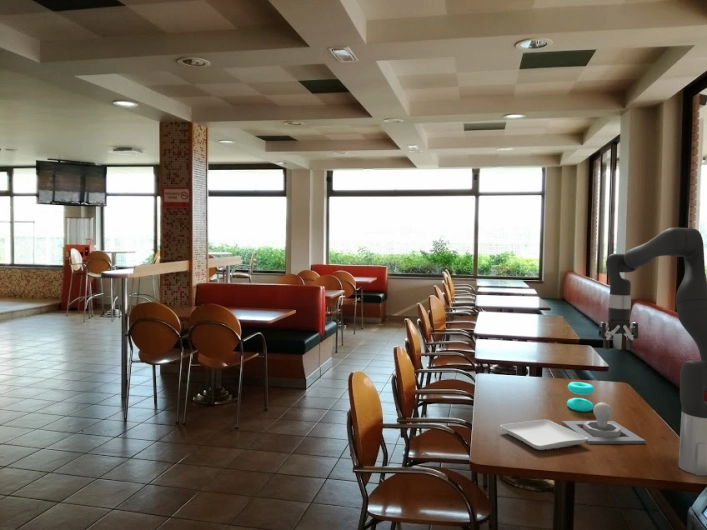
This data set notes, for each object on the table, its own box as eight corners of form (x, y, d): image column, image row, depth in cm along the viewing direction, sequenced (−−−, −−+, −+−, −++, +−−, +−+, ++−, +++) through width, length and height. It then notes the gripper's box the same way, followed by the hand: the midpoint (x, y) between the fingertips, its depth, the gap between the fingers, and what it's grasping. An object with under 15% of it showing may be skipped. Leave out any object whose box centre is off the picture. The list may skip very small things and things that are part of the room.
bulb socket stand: (645, 443, 190) (645, 436, 190) (588, 443, 189) (588, 436, 188) (613, 423, 210) (613, 416, 210) (561, 423, 208) (562, 417, 208)
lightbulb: (612, 436, 196) (614, 406, 195) (594, 435, 197) (595, 404, 196) (608, 430, 202) (610, 400, 201) (590, 429, 203) (592, 399, 202)
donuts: (571, 387, 223) (564, 380, 233) (570, 411, 223) (563, 404, 233) (597, 388, 222) (589, 381, 232) (596, 413, 222) (588, 405, 232)
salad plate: (497, 433, 198) (498, 423, 198) (546, 427, 205) (547, 417, 205) (537, 456, 178) (537, 445, 178) (589, 448, 186) (590, 438, 185)
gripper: (606, 307, 205) (604, 351, 206) (643, 308, 206) (641, 351, 207) (596, 305, 213) (594, 347, 214) (632, 305, 214) (630, 347, 215)
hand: (617, 349), depth 210 cm, fingers open, 8 cm apart
